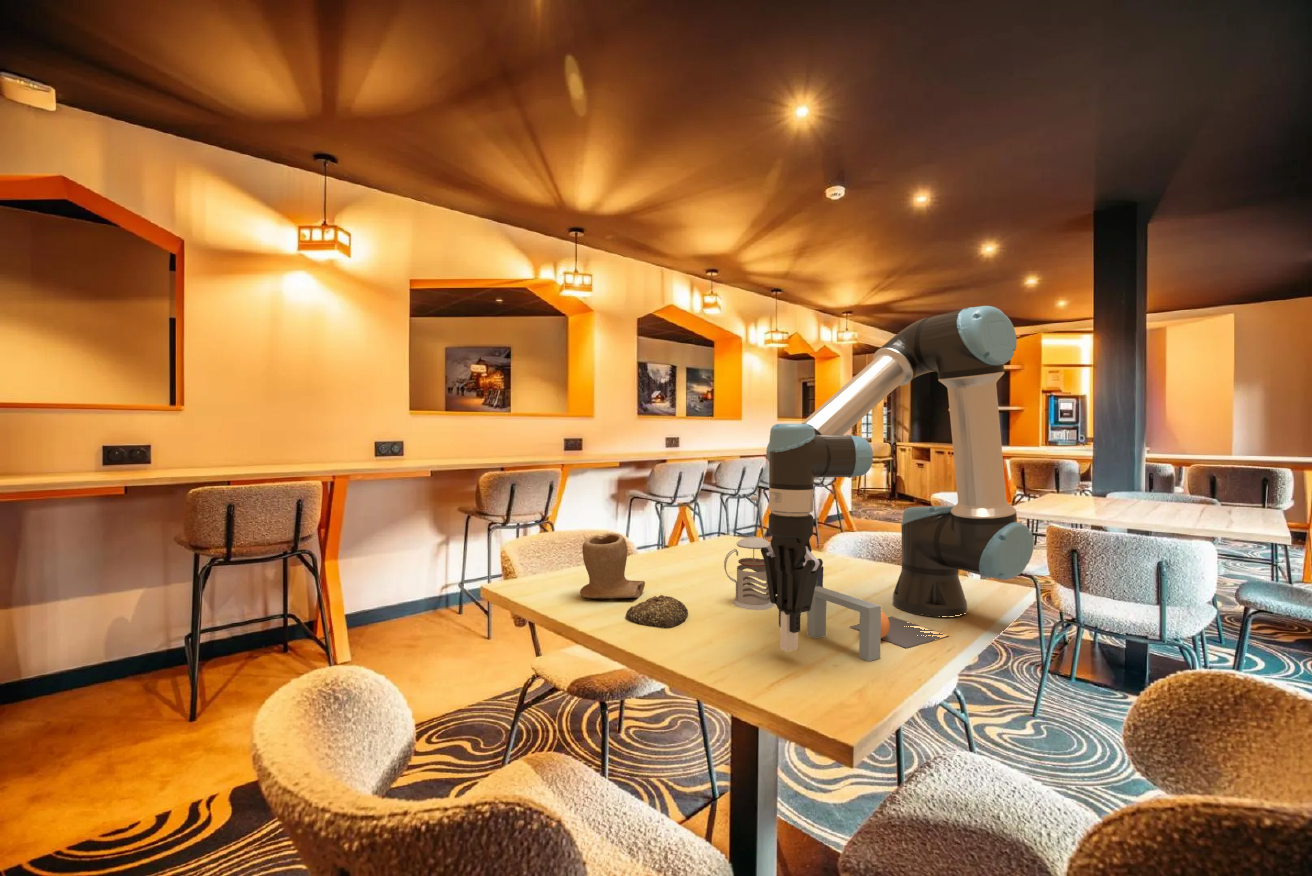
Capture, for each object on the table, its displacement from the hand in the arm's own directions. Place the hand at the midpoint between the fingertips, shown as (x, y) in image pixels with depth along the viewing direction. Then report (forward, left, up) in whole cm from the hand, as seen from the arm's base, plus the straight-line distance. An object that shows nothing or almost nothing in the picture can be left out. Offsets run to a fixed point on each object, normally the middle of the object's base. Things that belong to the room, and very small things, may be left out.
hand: (789, 648), depth 98 cm
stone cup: (+11, -48, -2) cm, 49 cm away
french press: (-15, -29, -2) cm, 33 cm away
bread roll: (+8, -30, -3) cm, 32 cm away
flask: (-25, -21, -2) cm, 33 cm away
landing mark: (-29, 0, -2) cm, 29 cm away
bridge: (-13, 0, -2) cm, 13 cm away
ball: (-22, 0, +1) cm, 22 cm away
